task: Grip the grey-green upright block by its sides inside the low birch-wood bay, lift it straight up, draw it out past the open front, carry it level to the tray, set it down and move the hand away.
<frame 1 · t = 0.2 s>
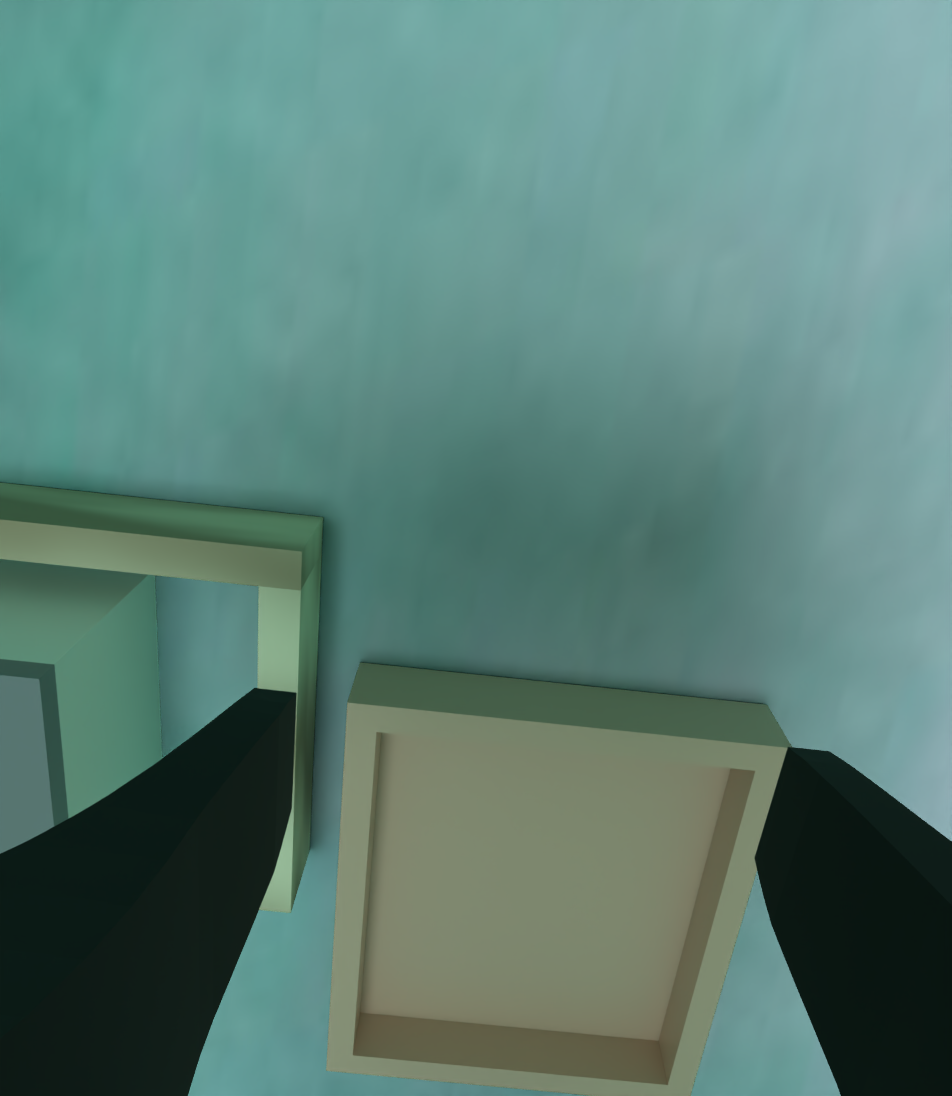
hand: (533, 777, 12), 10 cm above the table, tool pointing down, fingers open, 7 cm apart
grey-green upright block: (74, 685, 23), on the table
tray: (532, 872, 25), on the table
bay: (72, 687, 23), on the table
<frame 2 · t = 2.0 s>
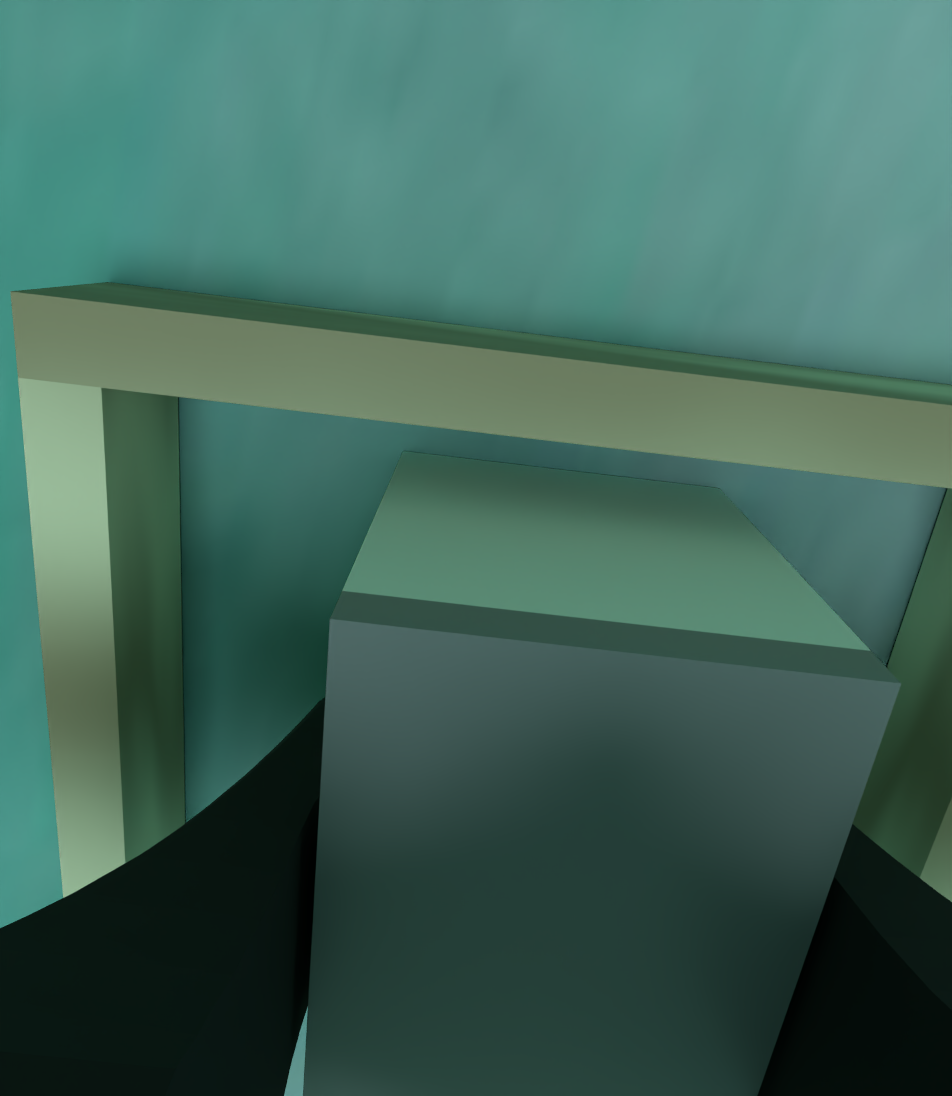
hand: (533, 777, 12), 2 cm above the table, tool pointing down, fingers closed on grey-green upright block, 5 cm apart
grey-green upright block: (526, 690, 14), on the table, touching gripper
bay: (527, 691, 14), on the table
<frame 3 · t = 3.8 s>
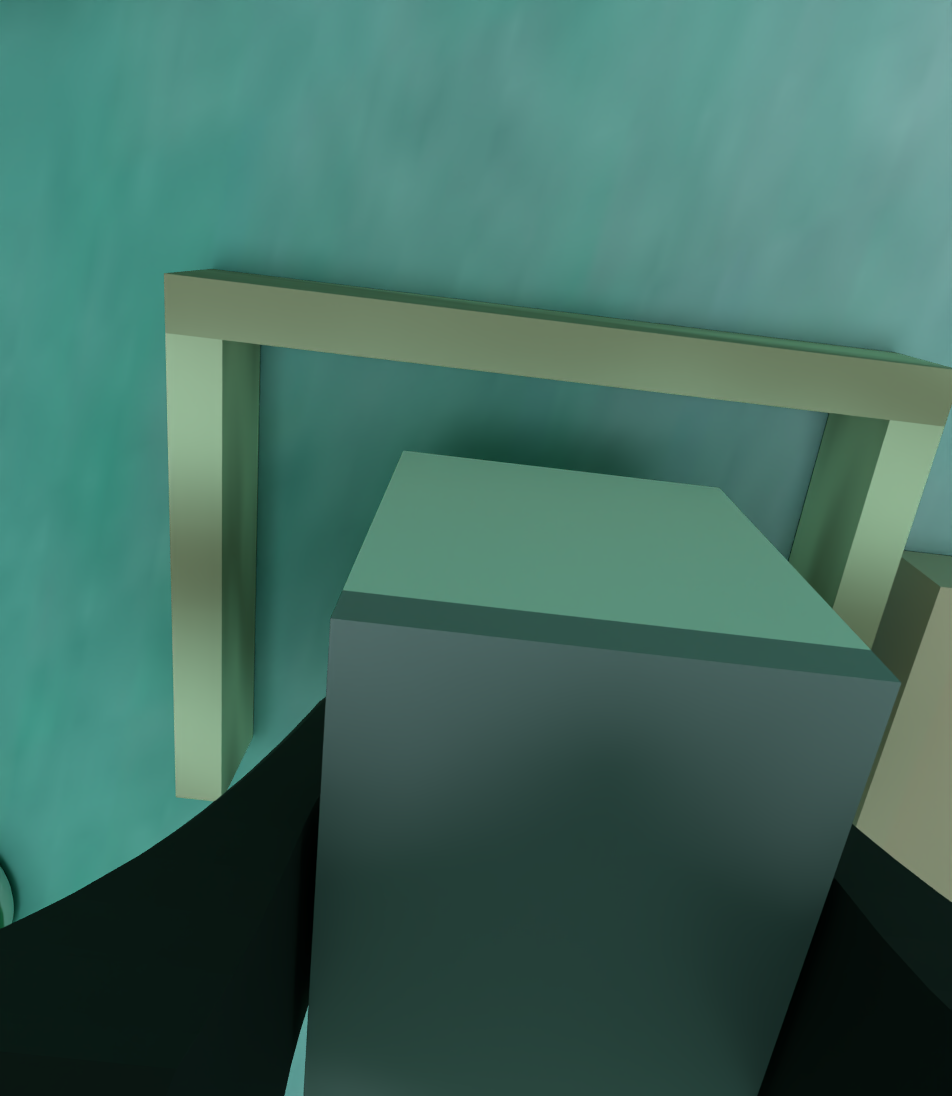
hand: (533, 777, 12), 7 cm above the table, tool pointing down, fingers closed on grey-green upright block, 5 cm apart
grey-green upright block: (526, 690, 14), point 5 cm above the table, touching gripper
bay: (517, 581, 18), on the table
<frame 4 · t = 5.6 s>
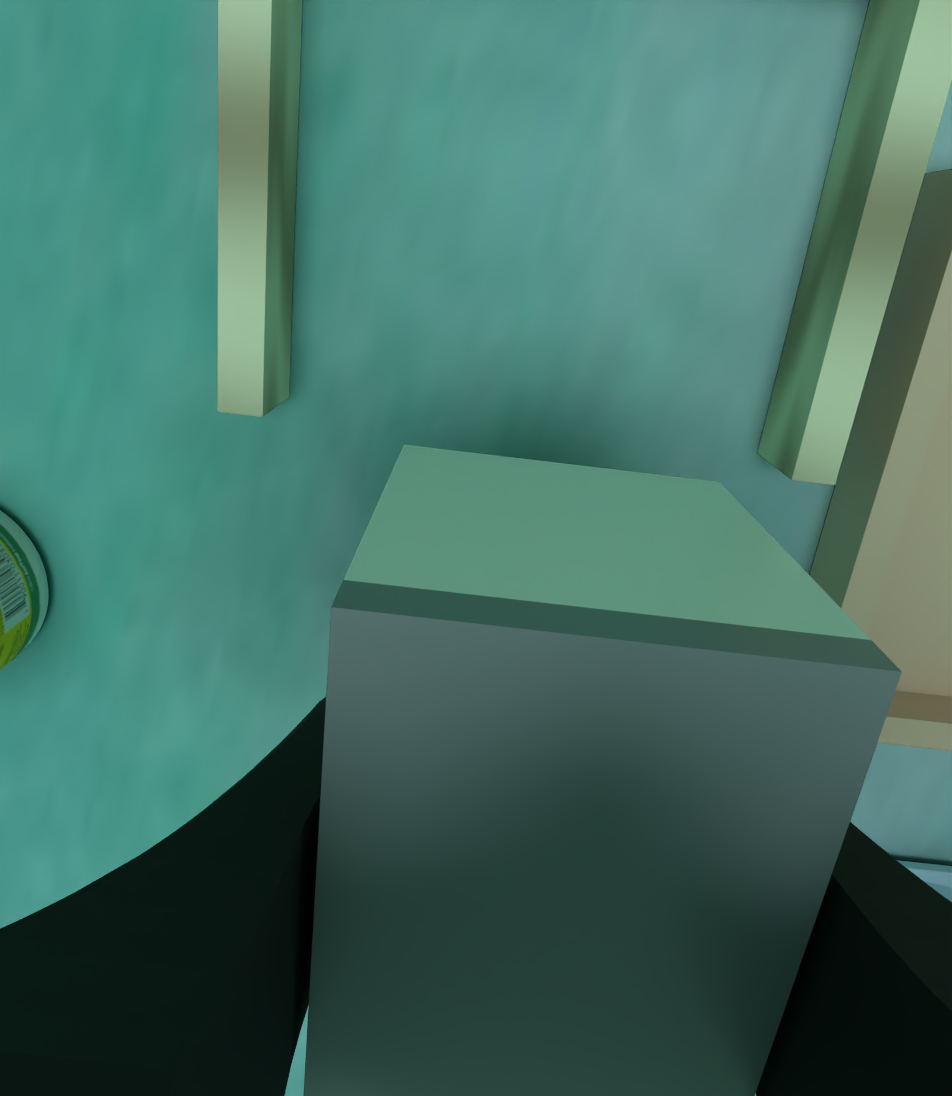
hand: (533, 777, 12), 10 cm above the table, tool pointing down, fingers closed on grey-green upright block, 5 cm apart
grey-green upright block: (527, 684, 14), point 8 cm above the table, touching gripper
bay: (554, 213, 19), on the table
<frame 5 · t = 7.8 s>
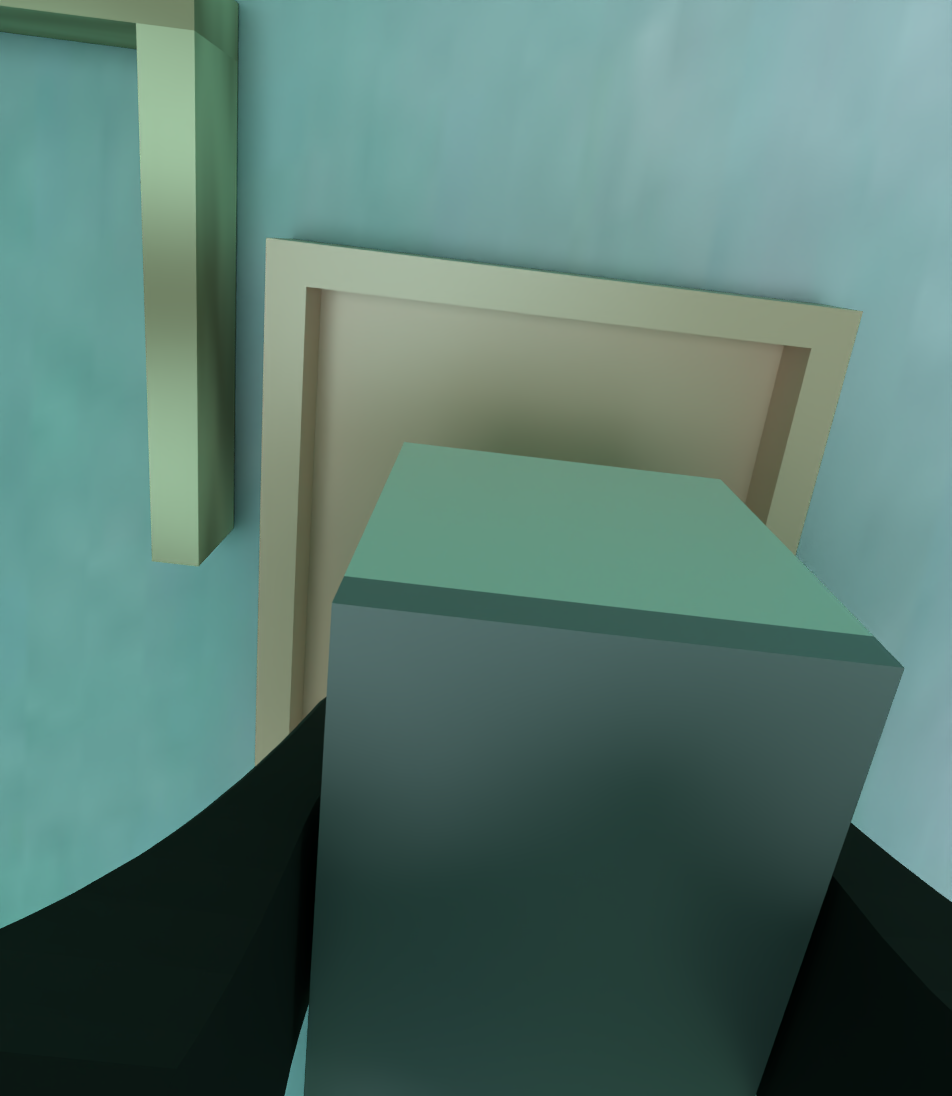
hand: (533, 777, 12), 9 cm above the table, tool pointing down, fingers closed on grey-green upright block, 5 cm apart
grey-green upright block: (527, 682, 14), point 6 cm above the table, touching gripper
tray: (516, 560, 20), on the table
when the fingers open (5 cm above the table, at t = 9.5 s): grey-green upright block drops 2 cm, resting on tray.
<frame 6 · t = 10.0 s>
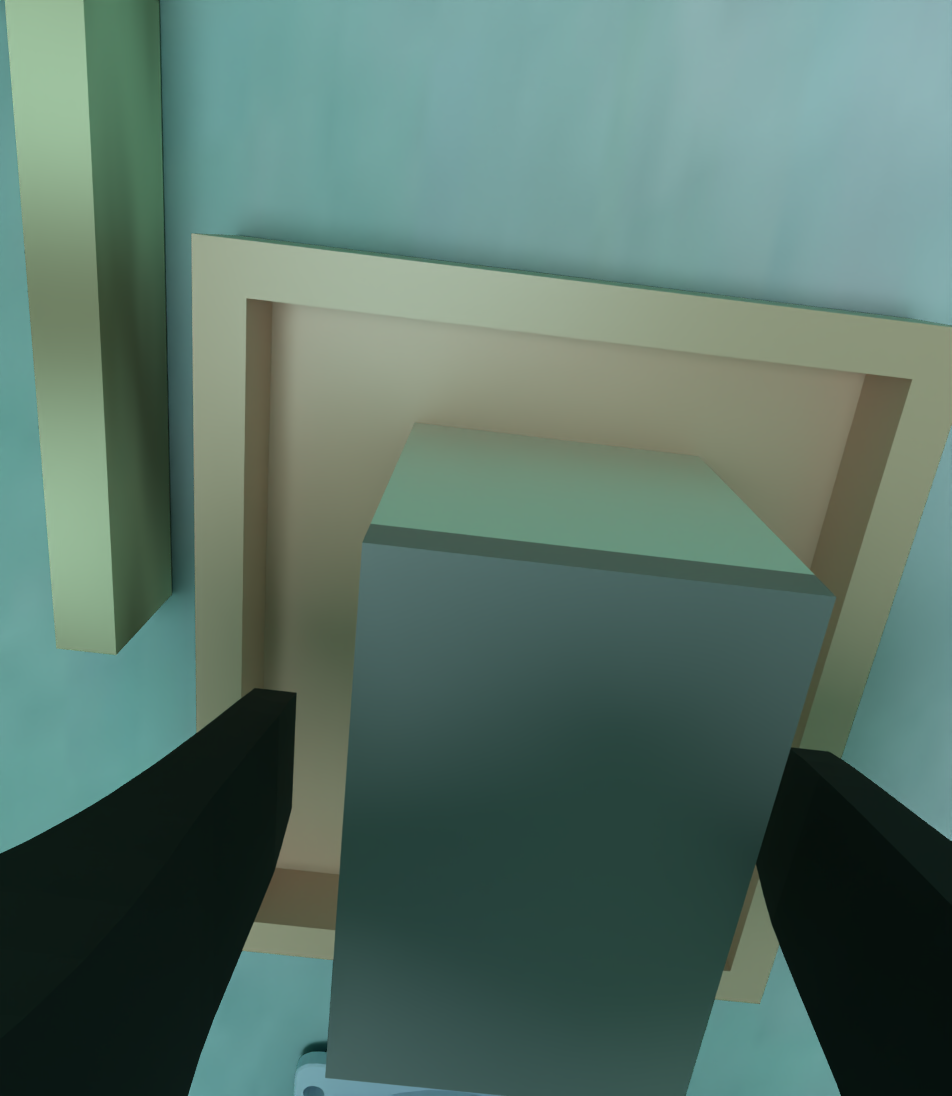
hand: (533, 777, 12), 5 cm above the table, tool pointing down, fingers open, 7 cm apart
grey-green upright block: (525, 642, 15), point 1 cm above the table, touching tray
tray: (522, 634, 16), on the table
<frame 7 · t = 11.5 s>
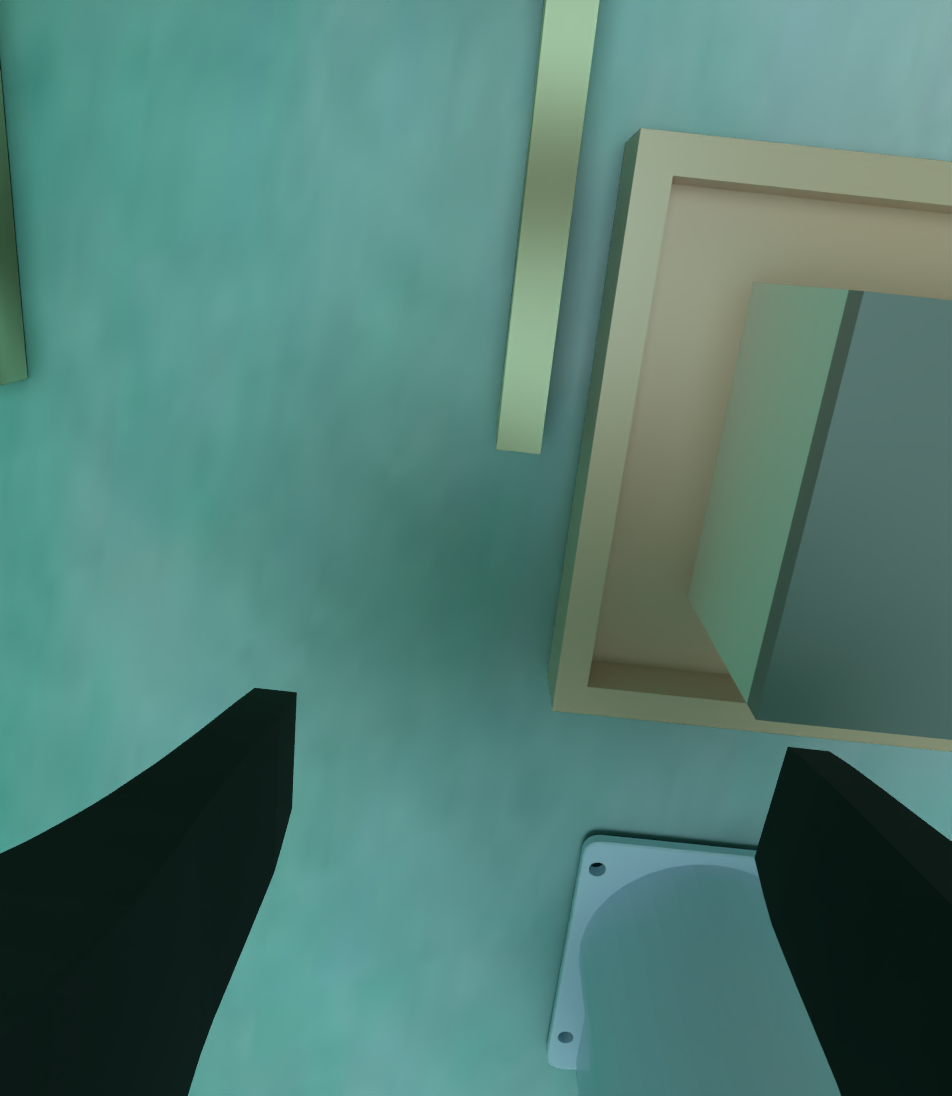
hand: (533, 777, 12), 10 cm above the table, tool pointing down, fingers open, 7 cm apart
grey-green upright block: (817, 461, 20), point 1 cm above the table, touching tray
tray: (806, 460, 21), on the table
bay: (264, 190, 19), on the table
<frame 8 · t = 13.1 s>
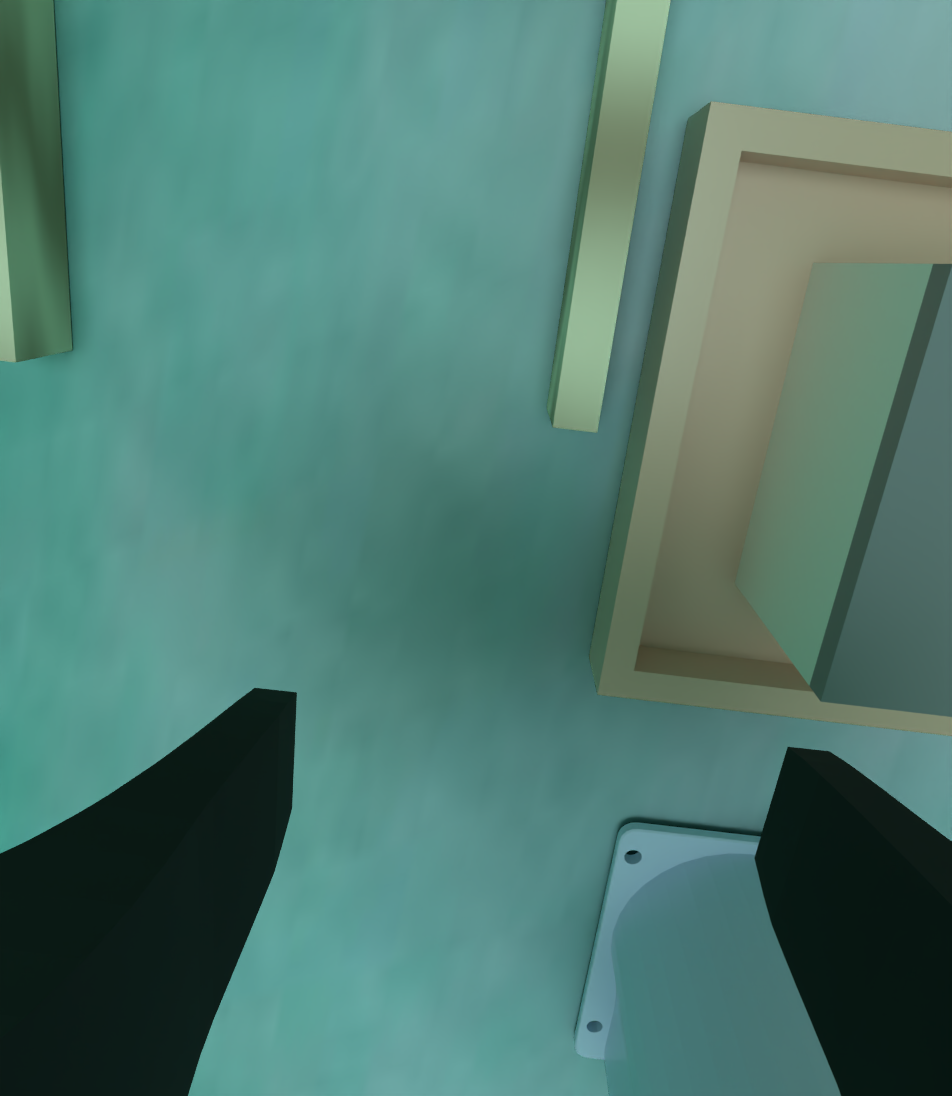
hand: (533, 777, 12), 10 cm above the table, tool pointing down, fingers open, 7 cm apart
grey-green upright block: (871, 446, 20), point 1 cm above the table, touching tray
tray: (858, 445, 20), on the table
bay: (320, 161, 18), on the table
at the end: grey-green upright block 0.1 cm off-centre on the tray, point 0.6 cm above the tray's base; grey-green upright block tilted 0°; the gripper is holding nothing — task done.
